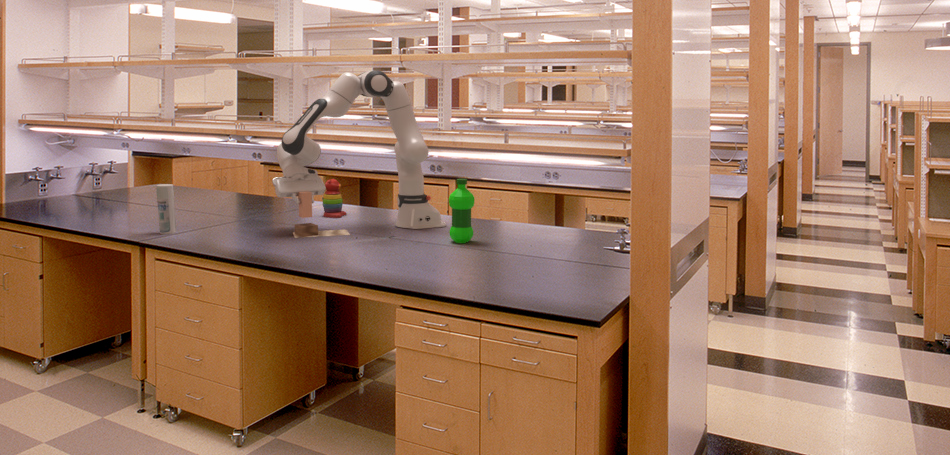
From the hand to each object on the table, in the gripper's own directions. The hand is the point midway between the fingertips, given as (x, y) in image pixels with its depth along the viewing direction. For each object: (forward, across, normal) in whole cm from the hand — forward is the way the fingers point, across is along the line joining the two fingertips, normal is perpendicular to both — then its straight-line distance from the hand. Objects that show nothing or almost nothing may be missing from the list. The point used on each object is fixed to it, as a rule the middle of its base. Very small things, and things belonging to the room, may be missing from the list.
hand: (305, 203), depth 282 cm
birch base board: (+10, +6, +10) cm, 15 cm away
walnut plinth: (+9, 0, +10) cm, 13 cm away
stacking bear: (-20, +32, +40) cm, 55 cm away
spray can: (-19, -43, +39) cm, 61 cm away
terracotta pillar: (+4, 0, +4) cm, 6 cm away
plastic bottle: (+39, +48, -19) cm, 64 cm away
